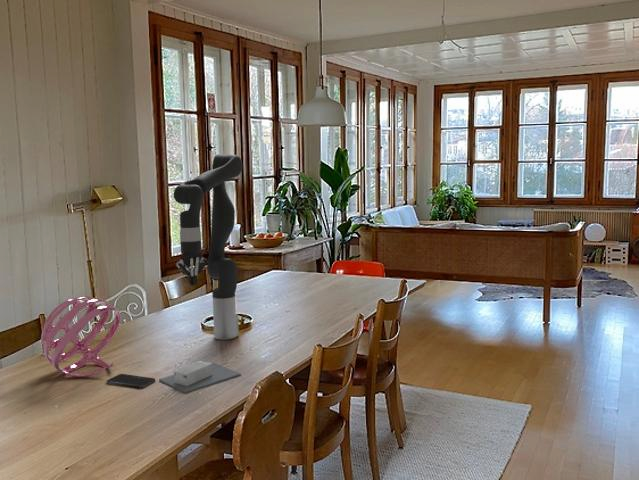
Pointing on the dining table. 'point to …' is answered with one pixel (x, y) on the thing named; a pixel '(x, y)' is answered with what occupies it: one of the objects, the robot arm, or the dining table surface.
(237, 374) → the rubber mat
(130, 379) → the phone
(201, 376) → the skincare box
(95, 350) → the spiral basket
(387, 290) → the dining table surface
